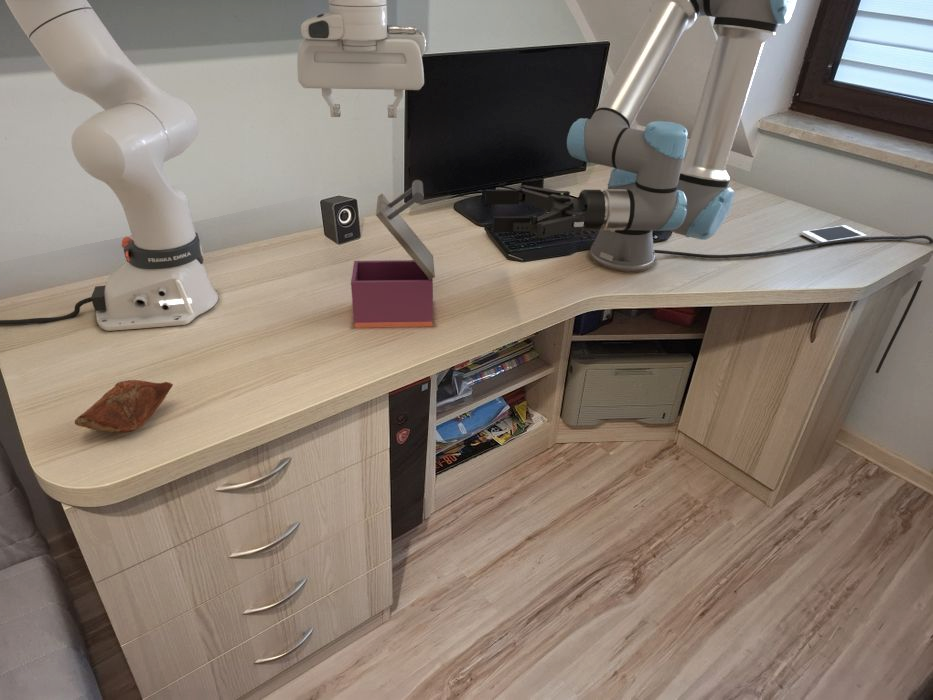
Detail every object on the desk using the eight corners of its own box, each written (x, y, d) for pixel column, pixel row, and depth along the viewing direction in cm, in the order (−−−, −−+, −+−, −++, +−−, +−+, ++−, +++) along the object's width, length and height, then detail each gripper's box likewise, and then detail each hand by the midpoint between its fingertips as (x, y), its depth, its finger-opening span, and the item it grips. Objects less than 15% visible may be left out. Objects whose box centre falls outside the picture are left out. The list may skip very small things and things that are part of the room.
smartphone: (800, 234, 170) (801, 231, 170) (844, 227, 175) (845, 224, 174) (821, 245, 165) (822, 241, 164) (865, 238, 169) (867, 234, 169)
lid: (375, 215, 112) (414, 186, 110) (377, 196, 120) (414, 169, 117) (430, 280, 120) (467, 255, 118) (428, 258, 128) (464, 234, 125)
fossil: (179, 377, 103) (140, 354, 94) (189, 423, 99) (149, 403, 90) (107, 409, 103) (61, 389, 94) (114, 456, 99) (67, 439, 90)
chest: (354, 327, 124) (350, 282, 119) (357, 304, 132) (354, 260, 127) (432, 326, 126) (432, 281, 120) (431, 303, 133) (431, 259, 128)
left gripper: (425, 23, 103) (425, 112, 110) (296, 20, 101) (305, 111, 109) (426, 29, 98) (426, 122, 105) (290, 26, 96) (300, 120, 104)
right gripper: (616, 257, 111) (495, 257, 110) (583, 204, 132) (481, 204, 130) (623, 216, 107) (498, 216, 106) (588, 169, 128) (483, 168, 126)
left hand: (364, 116), depth 107 cm, fingers open, 8 cm apart
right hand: (488, 210), depth 118 cm, fingers open, 13 cm apart
